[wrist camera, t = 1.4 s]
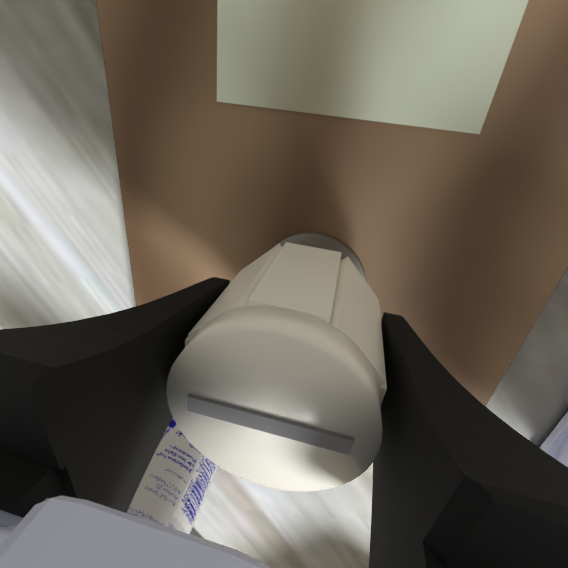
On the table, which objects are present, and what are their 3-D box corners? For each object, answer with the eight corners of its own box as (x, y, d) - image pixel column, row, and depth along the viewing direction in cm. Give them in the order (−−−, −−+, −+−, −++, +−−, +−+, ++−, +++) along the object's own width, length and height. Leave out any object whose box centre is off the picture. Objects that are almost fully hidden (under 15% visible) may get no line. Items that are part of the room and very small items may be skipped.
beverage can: (148, 400, 22) (-150, 789, 9) (223, 417, 21) (6, 877, 8) (159, 451, 25) (-63, 811, 12) (226, 469, 24) (64, 880, 11)
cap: (392, 261, 10) (414, 368, 6) (357, 379, 13) (353, 517, 8) (239, 233, 11) (155, 309, 7) (234, 349, 13) (170, 461, 9)
